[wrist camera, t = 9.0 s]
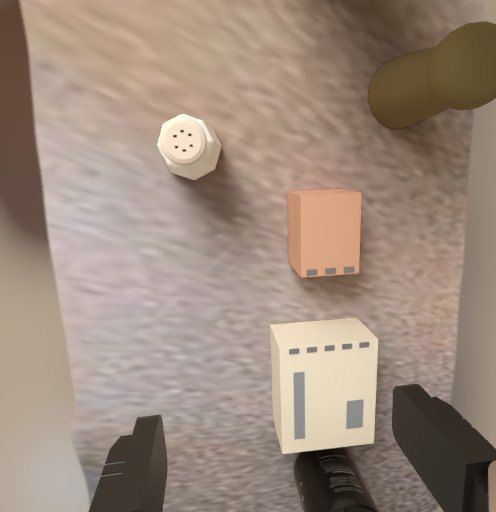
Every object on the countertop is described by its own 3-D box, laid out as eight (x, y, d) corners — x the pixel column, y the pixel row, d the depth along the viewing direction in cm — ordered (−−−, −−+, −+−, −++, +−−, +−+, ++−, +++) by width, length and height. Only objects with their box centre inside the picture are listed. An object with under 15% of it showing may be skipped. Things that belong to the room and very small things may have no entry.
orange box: (287, 191, 34) (300, 195, 30) (340, 188, 35) (361, 192, 30) (288, 262, 36) (301, 277, 31) (338, 258, 37) (359, 273, 32)
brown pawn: (443, 104, 34) (549, 77, 24) (387, 142, 35) (467, 132, 24) (413, 42, 33) (513, -17, 22) (355, 82, 33) (426, 43, 22)
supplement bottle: (279, 471, 42) (307, 587, 30) (319, 427, 41) (364, 530, 30) (323, 498, 44) (366, 619, 32) (363, 457, 43) (421, 566, 31)
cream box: (270, 324, 38) (279, 348, 33) (356, 317, 38) (378, 339, 34) (273, 419, 40) (282, 454, 35) (354, 410, 41) (374, 443, 36)
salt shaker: (224, 177, 34) (232, 183, 23) (164, 183, 33) (143, 191, 23) (218, 113, 32) (224, 88, 22) (155, 118, 32) (129, 95, 21)
